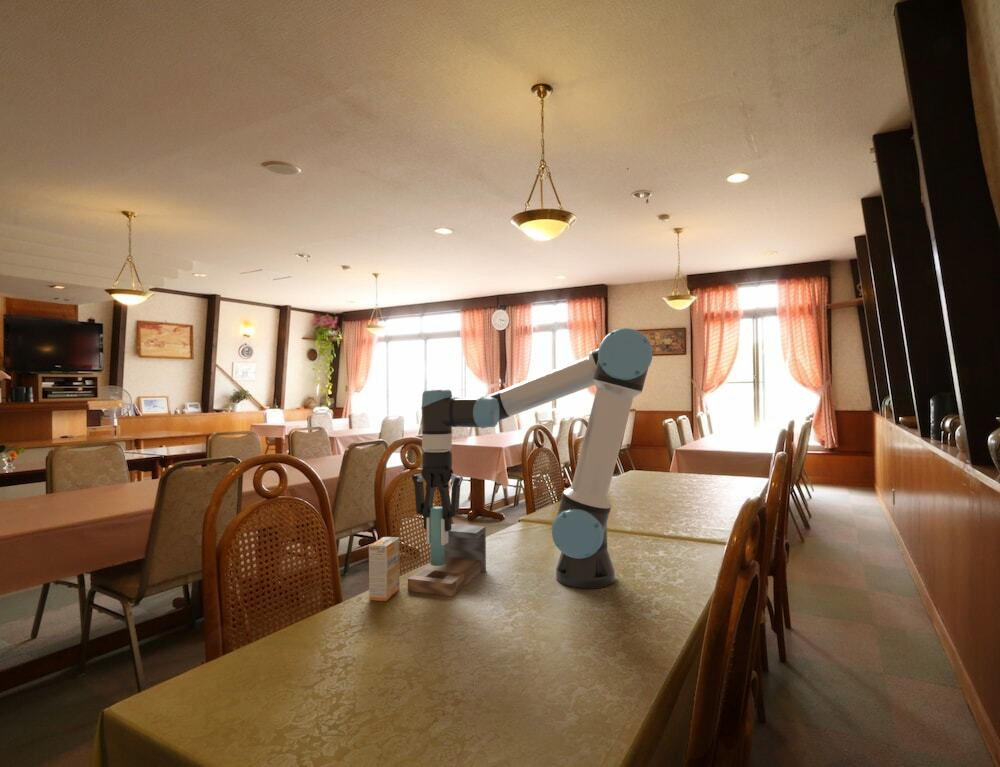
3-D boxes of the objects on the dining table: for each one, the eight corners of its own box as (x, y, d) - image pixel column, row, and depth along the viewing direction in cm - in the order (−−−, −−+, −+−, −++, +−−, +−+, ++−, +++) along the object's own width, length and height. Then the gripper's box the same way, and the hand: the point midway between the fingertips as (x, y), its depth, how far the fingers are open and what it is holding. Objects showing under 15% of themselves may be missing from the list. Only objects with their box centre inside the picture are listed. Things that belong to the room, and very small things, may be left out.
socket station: (486, 570, 150) (485, 526, 150) (455, 596, 131) (455, 546, 131) (440, 565, 155) (439, 523, 155) (404, 590, 136) (403, 541, 136)
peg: (447, 562, 139) (446, 507, 139) (440, 566, 136) (440, 510, 136) (434, 560, 141) (434, 506, 141) (428, 564, 137) (427, 509, 137)
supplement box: (387, 601, 129) (387, 546, 129) (368, 600, 130) (367, 545, 130) (400, 589, 137) (400, 536, 137) (382, 588, 138) (382, 535, 138)
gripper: (472, 449, 139) (473, 542, 139) (415, 447, 145) (416, 536, 145) (460, 453, 132) (461, 550, 132) (401, 450, 138) (401, 544, 138)
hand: (437, 542), depth 138 cm, fingers closed on peg, 3 cm apart
